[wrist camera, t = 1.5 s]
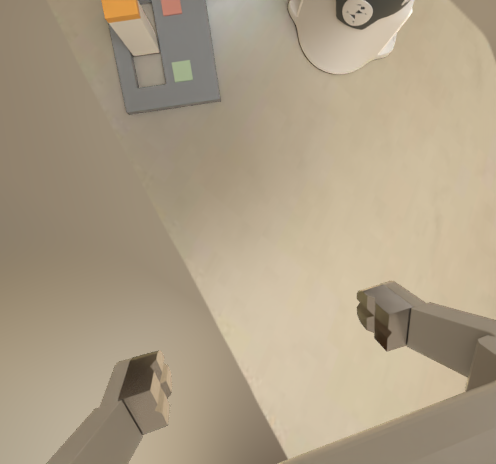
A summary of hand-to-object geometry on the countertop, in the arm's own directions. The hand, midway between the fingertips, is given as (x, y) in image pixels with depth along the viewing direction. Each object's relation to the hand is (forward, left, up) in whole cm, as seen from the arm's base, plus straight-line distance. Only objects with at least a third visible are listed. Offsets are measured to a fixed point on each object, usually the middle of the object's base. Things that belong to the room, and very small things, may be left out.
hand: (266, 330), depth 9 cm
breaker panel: (-23, -25, -35) cm, 48 cm away
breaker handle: (-22, -27, -35) cm, 49 cm away
